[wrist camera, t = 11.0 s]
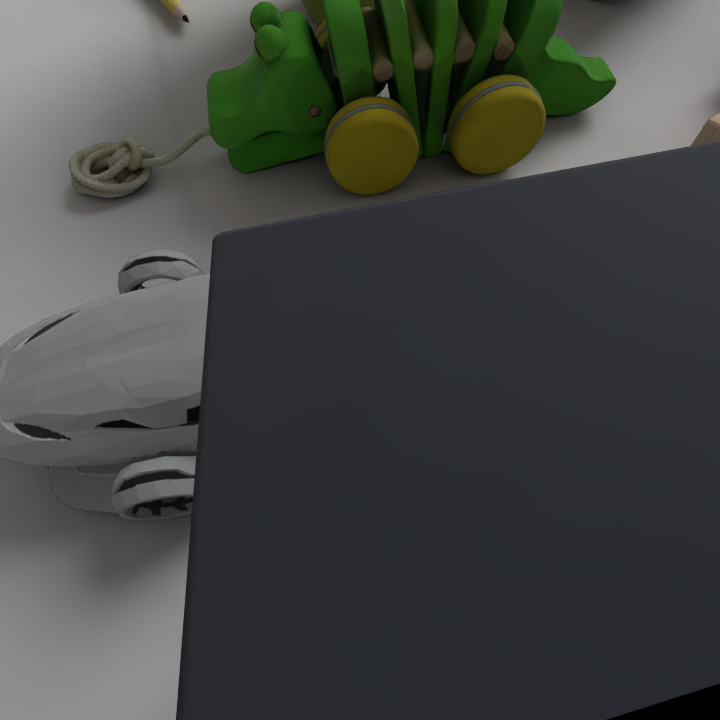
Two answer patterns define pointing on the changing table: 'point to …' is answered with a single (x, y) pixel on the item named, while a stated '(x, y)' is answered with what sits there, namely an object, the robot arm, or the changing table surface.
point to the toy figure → (709, 132)
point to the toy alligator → (368, 78)
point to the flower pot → (316, 11)
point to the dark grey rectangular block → (465, 456)
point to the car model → (113, 392)
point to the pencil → (176, 9)
